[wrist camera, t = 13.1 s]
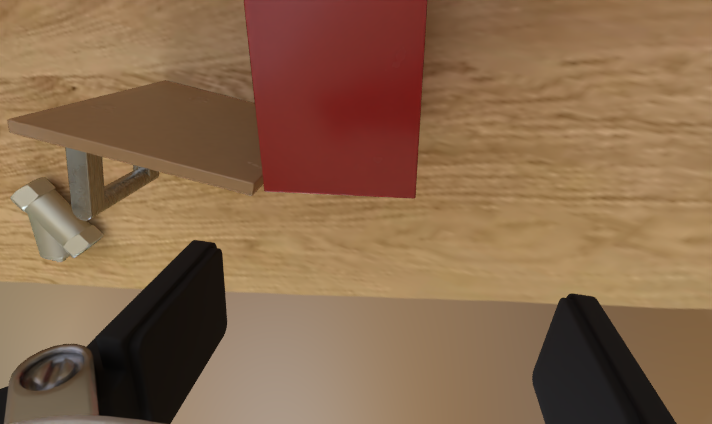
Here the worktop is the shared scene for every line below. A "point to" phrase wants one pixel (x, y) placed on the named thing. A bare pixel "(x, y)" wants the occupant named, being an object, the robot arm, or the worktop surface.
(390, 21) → the valve cabinet
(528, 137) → the worktop surface
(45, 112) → the cabinet door
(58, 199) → the pipe fitting
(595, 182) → the worktop surface
